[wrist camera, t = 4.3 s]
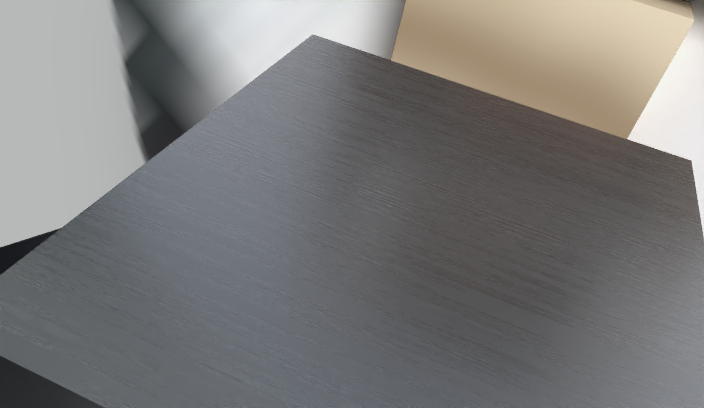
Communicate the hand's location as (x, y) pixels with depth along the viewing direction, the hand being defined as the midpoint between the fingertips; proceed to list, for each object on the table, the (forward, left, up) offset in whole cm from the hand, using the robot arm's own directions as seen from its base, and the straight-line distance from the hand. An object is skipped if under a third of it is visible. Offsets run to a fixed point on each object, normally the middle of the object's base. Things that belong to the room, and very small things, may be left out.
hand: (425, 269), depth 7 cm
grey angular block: (0, 0, -1) cm, 1 cm away
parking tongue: (-2, 0, -12) cm, 12 cm away
